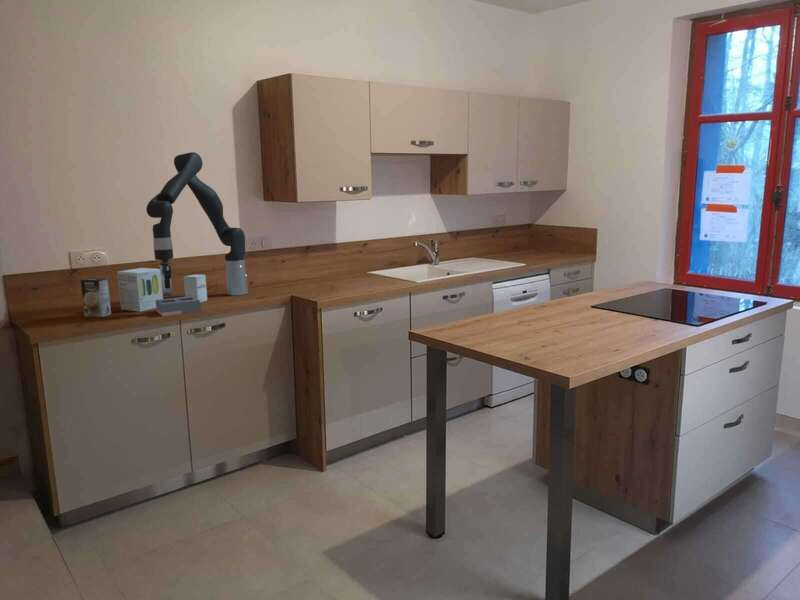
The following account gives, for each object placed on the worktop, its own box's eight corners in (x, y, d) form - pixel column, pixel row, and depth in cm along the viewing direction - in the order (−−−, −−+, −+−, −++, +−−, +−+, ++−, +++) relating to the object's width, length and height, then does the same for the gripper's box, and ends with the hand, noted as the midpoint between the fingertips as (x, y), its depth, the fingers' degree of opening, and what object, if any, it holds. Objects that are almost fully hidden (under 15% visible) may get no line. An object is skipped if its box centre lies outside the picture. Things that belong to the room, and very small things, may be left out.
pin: (171, 293, 277) (169, 271, 275) (173, 295, 274) (171, 272, 272) (161, 294, 275) (159, 272, 273) (163, 296, 272) (161, 273, 270)
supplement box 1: (140, 311, 279) (136, 272, 276) (120, 309, 286) (116, 271, 282) (164, 306, 291) (160, 268, 287) (145, 304, 297) (141, 267, 294)
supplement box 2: (198, 303, 295) (195, 276, 293) (185, 303, 298) (182, 276, 295) (208, 300, 302) (205, 274, 300) (195, 300, 304) (193, 274, 302)
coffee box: (83, 316, 272) (79, 279, 269) (94, 313, 278) (89, 277, 275) (102, 317, 270) (98, 280, 267) (112, 314, 276) (108, 277, 273)
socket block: (193, 306, 288) (192, 295, 287) (200, 311, 276) (199, 300, 275) (156, 311, 280) (155, 299, 279) (162, 316, 268) (161, 304, 267)
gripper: (175, 248, 267) (179, 289, 270) (169, 246, 279) (172, 284, 282) (156, 250, 263) (160, 290, 266) (151, 247, 275) (154, 286, 278)
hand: (166, 287), depth 274 cm, fingers closed on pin, 4 cm apart
